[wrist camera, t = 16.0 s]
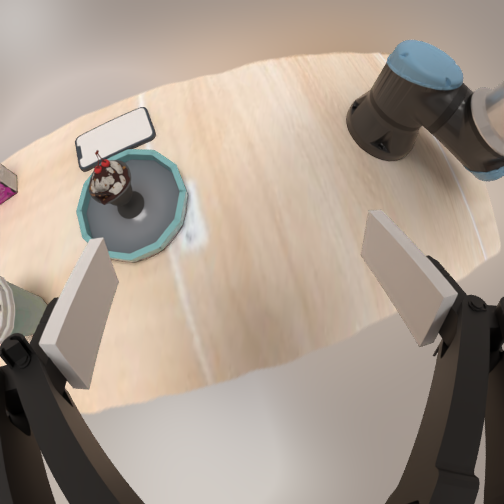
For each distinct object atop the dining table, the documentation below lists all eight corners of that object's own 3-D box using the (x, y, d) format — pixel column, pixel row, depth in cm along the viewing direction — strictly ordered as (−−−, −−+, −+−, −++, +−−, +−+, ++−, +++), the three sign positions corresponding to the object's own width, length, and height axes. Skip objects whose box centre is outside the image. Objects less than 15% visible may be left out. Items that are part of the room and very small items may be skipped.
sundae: (135, 179, 48) (104, 133, 33) (156, 206, 47) (128, 164, 32) (106, 203, 47) (65, 165, 32) (125, 231, 46) (86, 200, 31)
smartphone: (146, 109, 53) (77, 141, 50) (145, 104, 51) (73, 137, 49) (158, 140, 51) (83, 175, 49) (156, 135, 50) (79, 171, 47)
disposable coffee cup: (21, 341, 42) (-32, 344, 27) (17, 285, 44) (-35, 274, 29) (62, 341, 43) (9, 347, 28) (57, 280, 45) (4, 268, 30)
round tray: (167, 142, 51) (164, 133, 48) (203, 234, 48) (201, 229, 45) (77, 184, 48) (70, 178, 45) (101, 279, 45) (93, 277, 42)
